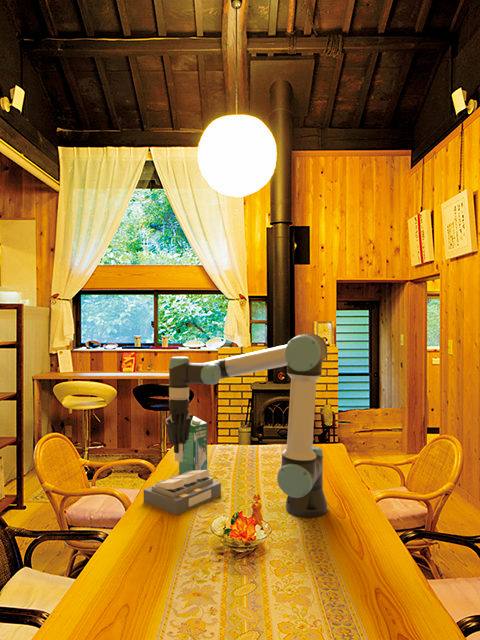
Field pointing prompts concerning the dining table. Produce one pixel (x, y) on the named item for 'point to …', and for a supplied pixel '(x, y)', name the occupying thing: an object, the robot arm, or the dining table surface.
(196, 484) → the switch unit
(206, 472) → the rocker
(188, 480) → the rocker
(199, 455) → the milk carton
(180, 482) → the rocker
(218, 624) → the dining table surface
